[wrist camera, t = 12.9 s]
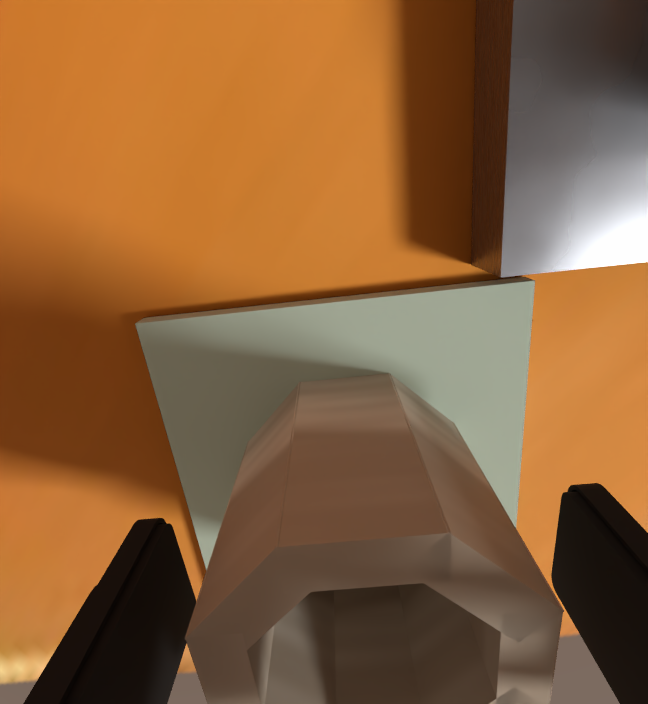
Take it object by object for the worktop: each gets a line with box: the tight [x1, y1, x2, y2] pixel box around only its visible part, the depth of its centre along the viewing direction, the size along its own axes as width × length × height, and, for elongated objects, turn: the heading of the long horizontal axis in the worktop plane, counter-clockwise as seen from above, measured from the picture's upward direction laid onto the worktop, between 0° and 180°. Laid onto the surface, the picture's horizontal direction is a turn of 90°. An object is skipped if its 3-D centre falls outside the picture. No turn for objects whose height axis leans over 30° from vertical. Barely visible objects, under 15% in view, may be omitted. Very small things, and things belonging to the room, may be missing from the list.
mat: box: [135, 277, 535, 571], centre depth 13 cm, size 11×11×1 cm
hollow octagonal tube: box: [185, 373, 564, 704], centre depth 10 cm, size 6×6×6 cm
